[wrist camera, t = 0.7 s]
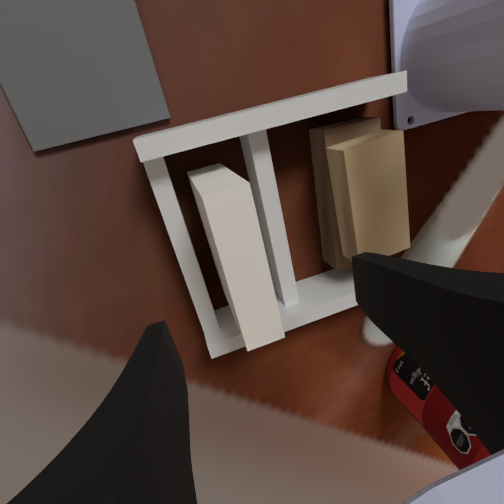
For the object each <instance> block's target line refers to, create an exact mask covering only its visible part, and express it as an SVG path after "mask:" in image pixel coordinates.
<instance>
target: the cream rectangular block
mask: <svg viewBox="0 0 504 504" xmlns="http://www.w3.org/2000/svg"><path fill="white" fill-rule="evenodd" d="M187 174H188V178H189V181H190V184H191V187H192V191H193V194H194V197H195V201H196V204H197V207H198V210H199V214H200V217H201V220H202V223H203V227H204V230H205V233H206V236H207V240H208V243H209V246H210V249H211V253H212V256H213V259H214V263H215V266H216V269H217V272H218V276H219V279H220V282H221V285H222V288H223V291H224V293H225V296H226V298H227V301H228V303H229V306H230V308H231V311H232V314H233V316H234V319H235V321H236V324H237V326H238V329H239V331H240V334H241V336H242V339H243V341H244V344H245V346H246V349H247V351H250V350H253V349H255V348H258V347H261V346H264V345H266V344H269V343H272V342H274V341H277V340H280V339H282V338H285V335H284V330H283V326H282V322H281V317H280V313H279V309H278V304H277V300H276V295H275V291H274V287H273V282H272V278H271V274H270V269H269V265H268V260H267V256H266V252H265V247H264V243H263V239H262V234H261V230H260V226H259V221H258V217H257V212H256V208H255V204H254V199H253V195H252V191H251V186H250V183H249V182H248V181H246V180H245V179H243V178H242V177H240V176H239V175H237V174H236V173H234V172H232V171H231V170H229V169H228V168H226V167H225V166H223V165H222V164H220V163H218V164H214V165H211V166H207V167H203V168H200V169H196V170H193V171H189V172H187Z"/></svg>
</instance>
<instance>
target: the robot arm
mask: <svg viewBox="0 0 504 504" xmlns="http://www.w3.org/2000/svg"><path fill="white" fill-rule="evenodd" d="M389 13H390V39H391V66H392V73H396V72H401V71H406V70H407V92H404V93H400V94H397V95H393V119H394V127H395V129H396V130H407V129H410V128H414V127H417V126H421V125H424V124H428V123H431V122H435V121H438V120H442V119H445V118H449V117H452V116H456V115H459V114H463V113H466V112H470V111H497V110H504V0H389ZM409 117H410V122H409V124H408V122H407V120H408V118H409ZM351 260H352V269H353V279H354V288H355V298H356V302H357V304H358V305H359V306H360V307H361V309H362V310H363V311H364V313H365V314H366V315H367V316H368V317H369V319H370V320H371V321H372V322H373V323H374V324H375V325H376V326H377V327H378V328H379V329H380V330H381V331H382V332H383V333H384V334H385V335H386V336H387V337H389V338H390V339H391V340H392V341H393V342H394V343H395V344H396V345H397V346H398V347H399V348H400V349H401V350H402V351H403V352H405V353H406V354H407V355H408V356H409V357H410V358H411V359H412V360H413V361H414V362H415V363H416V364H417V365H418V366H419V367H420V368H421V369H422V370H423V371H424V372H425V373H426V375H427V376H428V377H429V378H430V379H431V380H432V381H433V383H434V384H435V385H436V386H437V387H438V388H439V390H440V391H441V392H442V393H443V394H444V395H445V397H446V398H447V399H448V400H449V402H450V403H451V404H452V405H453V406H454V408H455V409H456V410H457V411H458V413H459V414H460V415H461V416H462V417H463V419H464V420H465V421H466V423H467V424H468V425H469V426H470V428H471V429H472V430H473V432H474V433H475V434H476V436H477V437H478V438H479V439H480V441H481V442H482V443H483V445H484V446H485V447H486V449H487V450H488V451H489V453H490V454H491V456H489V457H487V458H484V459H482V460H480V461H478V462H476V463H474V464H472V465H470V466H468V467H465V468H463V469H461V470H459V471H457V472H455V473H453V474H451V475H449V476H447V477H445V478H442V479H440V480H438V481H436V482H434V483H432V484H430V485H428V486H427V487H425V488H423V489H422V490H421V491H419V492H417V493H416V494H415V495H413V496H411V497H410V498H408V499H407V500H405V501H404V502H403V503H402V504H504V273H490V272H480V271H470V270H461V269H454V268H448V267H442V266H436V265H430V264H425V263H420V262H415V261H410V260H406V259H401V258H396V257H392V256H387V255H382V254H377V253H371V252H364V253H361V254H358V255H355V256H352V257H351ZM192 473H193V472H192V464H191V453H190V432H189V411H188V392H187V385H186V379H185V373H184V368H183V363H182V361H181V359H180V356H179V354H178V351H177V349H176V346H175V344H174V341H173V339H172V337H171V334H170V332H169V329H168V327H167V324H166V322H165V320H164V321H161V322H158V323H155V324H152V325H149V326H147V328H146V330H145V331H144V333H143V335H142V337H141V339H140V341H139V343H138V345H137V346H136V348H135V350H134V352H133V354H132V356H131V357H130V359H129V361H128V363H127V365H126V366H125V368H124V370H123V371H122V373H121V375H120V376H119V378H118V379H117V381H116V383H115V384H114V386H113V387H112V389H111V390H110V392H109V393H108V395H107V396H106V398H105V399H104V400H103V402H102V403H101V404H100V406H99V407H98V408H97V410H96V411H95V412H94V414H93V415H92V416H91V417H90V419H89V420H88V421H87V422H86V424H85V425H84V426H83V427H82V428H81V429H80V431H79V432H78V433H77V434H76V435H75V436H74V437H73V438H72V440H71V441H70V442H69V443H68V444H67V445H66V446H65V447H64V449H63V450H62V451H61V452H60V453H59V454H58V455H57V456H56V457H55V458H54V459H53V460H52V461H51V462H50V463H49V464H48V465H47V466H46V467H45V468H44V469H43V470H42V472H41V473H39V475H37V476H36V477H35V478H34V479H33V480H32V481H31V482H30V483H29V484H28V485H27V486H26V487H25V488H24V489H23V490H22V491H21V492H19V493H18V494H17V495H16V496H15V497H14V498H13V499H12V500H11V501H9V502H8V503H7V504H197V500H196V493H195V486H194V479H193V474H192Z"/></svg>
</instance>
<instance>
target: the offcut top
mask: <svg viewBox="0 0 504 504" xmlns="http://www.w3.org/2000/svg"><path fill="white" fill-rule="evenodd" d="M326 154H327V160H328V166H329V173H330V179H331V185H332V191H333V197H334V203H335V209H336V216H337V222H338V228H339V234H340V240H341V246H342V252H343V255H344V256H345V257H346V258H348V259H349V260H351V257H352V256H355V255H358V254H361V253H364V252H371V253H377V254H382V255H387V256H390V255H392V254H395V253H397V252H400V251H402V250H405V249H407V248H410V233H409V216H408V199H407V183H406V166H405V149H404V133H403V131H400V130H377V131H374V132H371V133H368V134H365V135H362V136H359V137H356V138H353V139H350V140H347V141H344V142H341V143H338V144H335V145H332V146H329V147H326ZM351 261H352V260H351Z"/></svg>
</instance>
